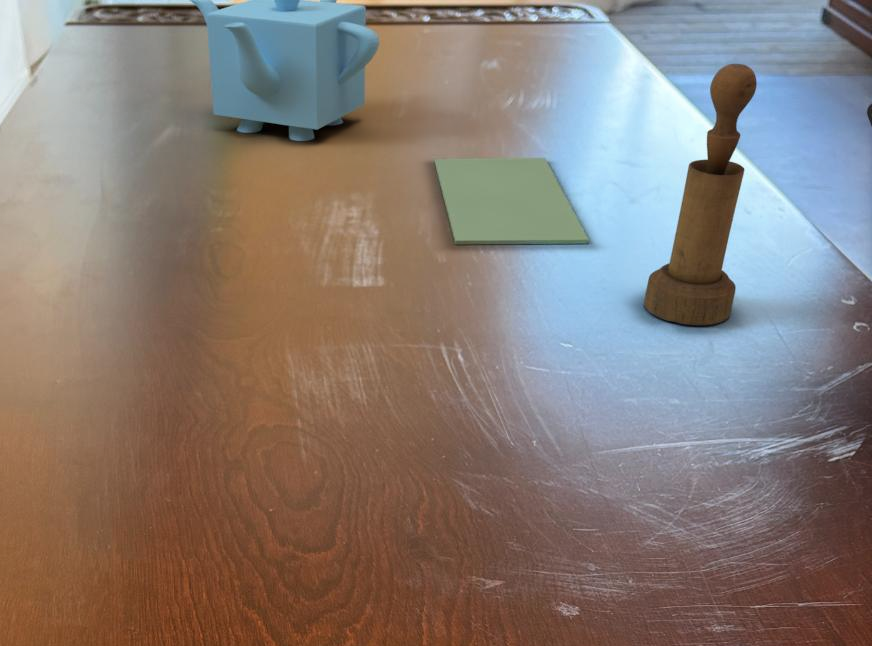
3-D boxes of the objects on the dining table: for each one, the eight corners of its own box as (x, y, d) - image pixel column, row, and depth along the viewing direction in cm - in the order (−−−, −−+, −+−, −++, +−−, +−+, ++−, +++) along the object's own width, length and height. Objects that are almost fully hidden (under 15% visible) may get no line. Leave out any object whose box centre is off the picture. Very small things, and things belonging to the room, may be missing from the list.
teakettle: (387, 140, 120) (391, -3, 111) (228, 155, 115) (219, 8, 106) (337, 99, 134) (338, -29, 125) (195, 111, 130) (184, -21, 121)
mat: (544, 161, 113) (545, 157, 113) (588, 243, 94) (589, 239, 93) (434, 162, 113) (434, 158, 113) (455, 244, 94) (455, 240, 93)
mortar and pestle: (735, 300, 84) (793, 59, 73) (723, 333, 79) (783, 80, 68) (652, 287, 86) (696, 51, 75) (635, 317, 81) (680, 71, 70)
